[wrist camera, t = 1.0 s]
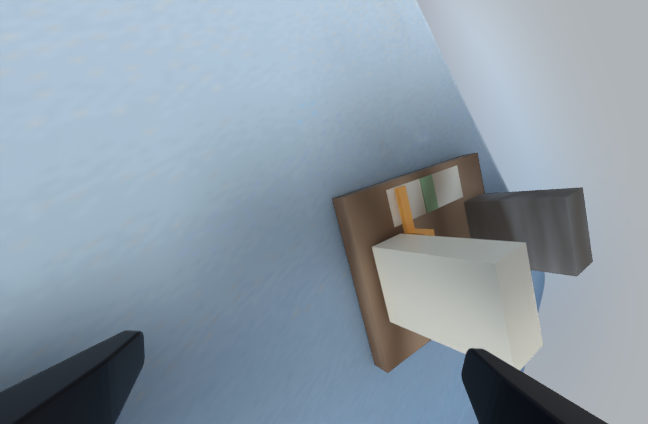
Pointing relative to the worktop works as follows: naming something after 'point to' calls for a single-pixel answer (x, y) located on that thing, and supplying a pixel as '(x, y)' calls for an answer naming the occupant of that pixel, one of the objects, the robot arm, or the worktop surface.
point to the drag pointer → (408, 214)
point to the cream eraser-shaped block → (462, 293)
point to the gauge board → (454, 234)
